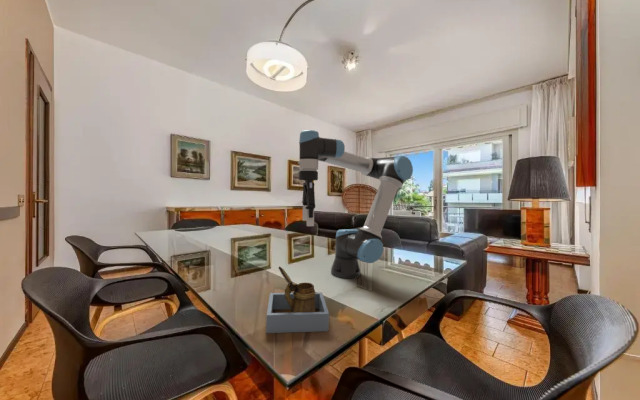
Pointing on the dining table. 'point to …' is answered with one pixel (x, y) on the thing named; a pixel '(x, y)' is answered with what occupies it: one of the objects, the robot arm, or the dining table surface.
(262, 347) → the dining table surface
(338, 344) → the dining table surface
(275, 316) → the box
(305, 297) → the wooden mug
